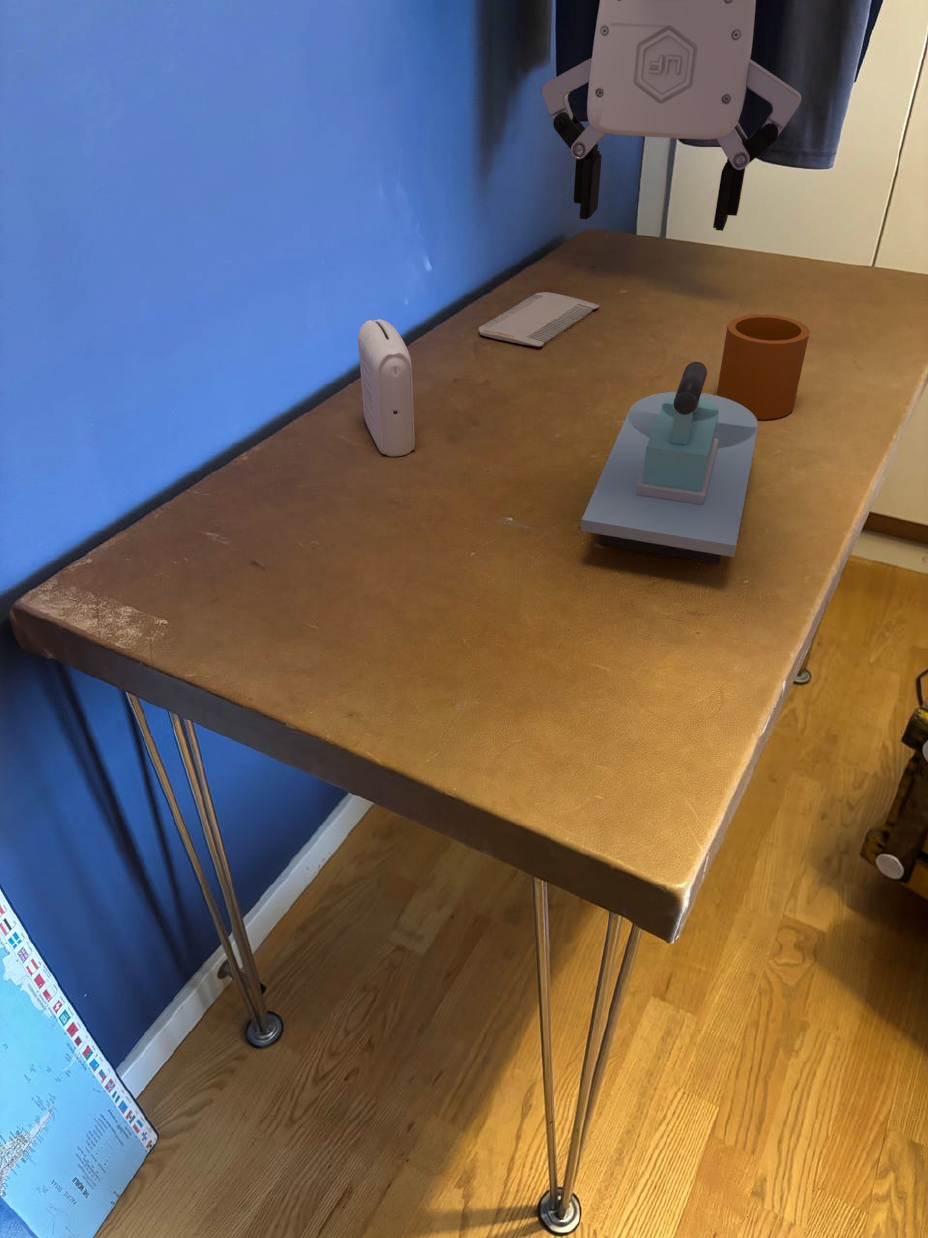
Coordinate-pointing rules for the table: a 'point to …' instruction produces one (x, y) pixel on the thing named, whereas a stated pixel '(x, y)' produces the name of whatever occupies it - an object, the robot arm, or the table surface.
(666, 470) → the iron
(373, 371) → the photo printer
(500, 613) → the table surface
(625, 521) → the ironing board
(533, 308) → the grooming comb
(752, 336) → the brown cup
